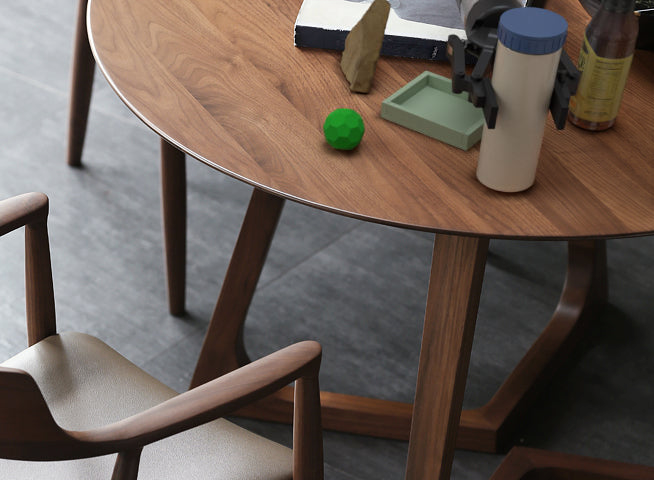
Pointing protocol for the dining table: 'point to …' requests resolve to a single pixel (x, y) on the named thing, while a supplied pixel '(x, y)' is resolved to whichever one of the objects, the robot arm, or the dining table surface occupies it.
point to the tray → (435, 111)
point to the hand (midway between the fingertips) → (528, 118)
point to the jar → (517, 118)
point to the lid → (532, 30)
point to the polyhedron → (343, 129)
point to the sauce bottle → (604, 65)
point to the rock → (365, 46)
